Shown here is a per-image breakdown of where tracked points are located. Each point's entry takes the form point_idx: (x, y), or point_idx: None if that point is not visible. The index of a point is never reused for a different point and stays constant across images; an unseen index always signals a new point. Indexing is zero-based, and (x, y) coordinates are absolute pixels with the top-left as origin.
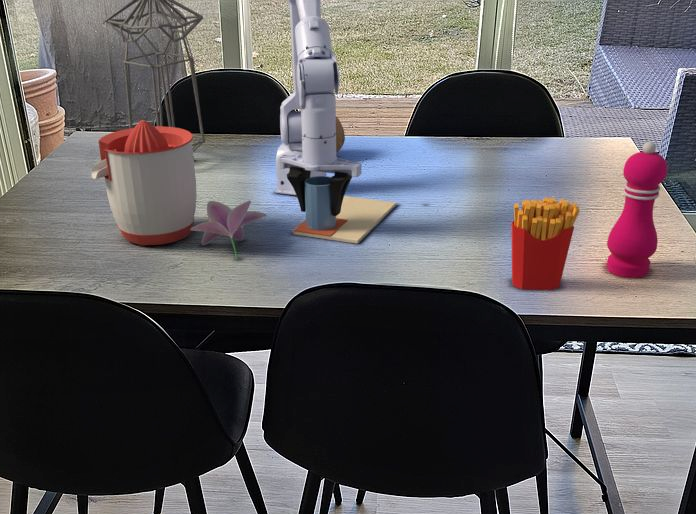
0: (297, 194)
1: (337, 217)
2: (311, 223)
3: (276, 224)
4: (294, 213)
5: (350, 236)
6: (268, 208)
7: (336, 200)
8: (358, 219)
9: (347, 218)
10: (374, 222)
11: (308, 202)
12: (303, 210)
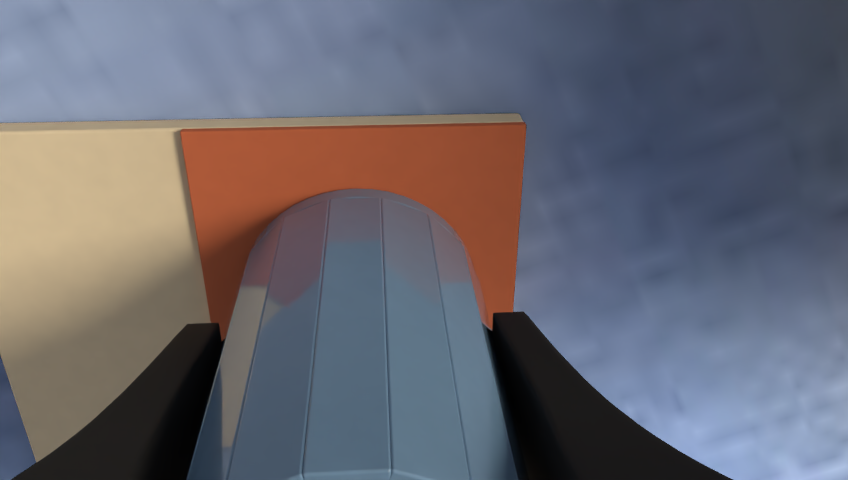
0: (588, 397)
1: None
2: (388, 213)
3: (713, 242)
4: None
5: (33, 189)
6: (838, 445)
7: (111, 411)
8: None
9: None
10: None
11: (429, 328)
12: (505, 318)
